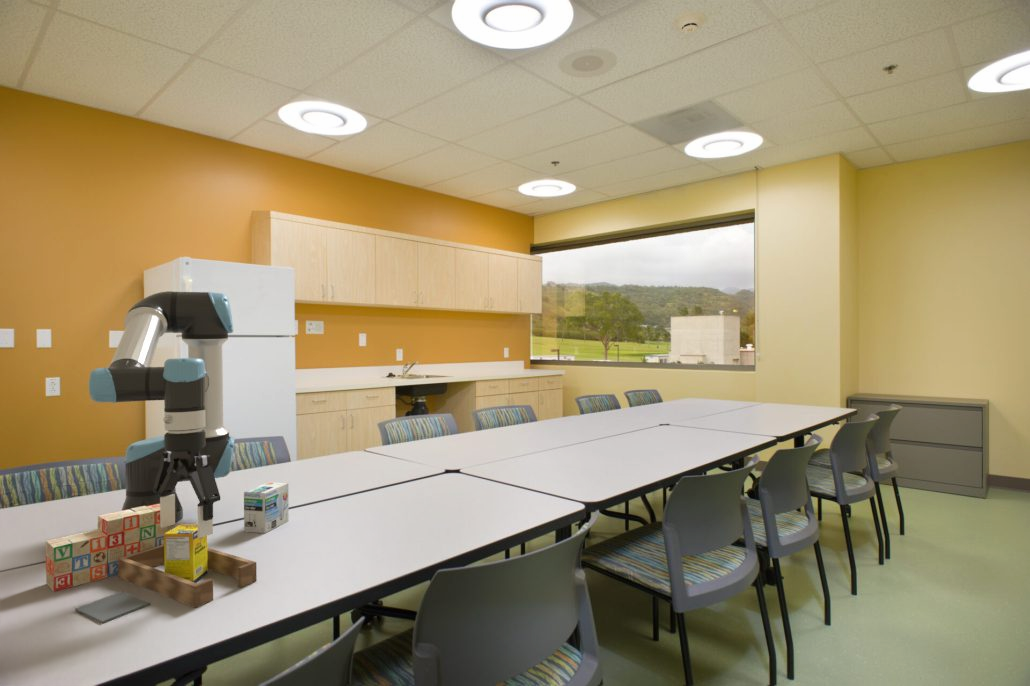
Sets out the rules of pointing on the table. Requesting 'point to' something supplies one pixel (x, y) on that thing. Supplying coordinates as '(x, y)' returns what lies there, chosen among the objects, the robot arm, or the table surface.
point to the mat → (112, 607)
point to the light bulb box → (266, 507)
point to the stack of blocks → (102, 546)
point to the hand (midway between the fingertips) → (186, 530)
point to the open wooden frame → (177, 588)
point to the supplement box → (185, 553)
